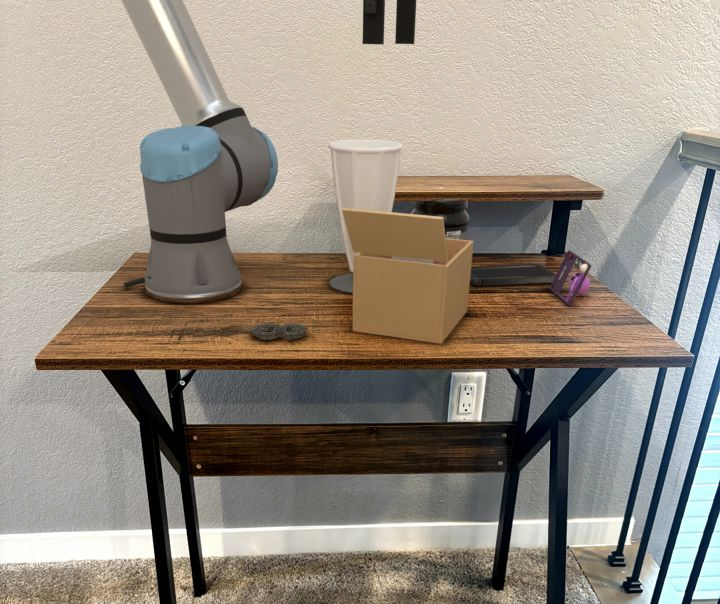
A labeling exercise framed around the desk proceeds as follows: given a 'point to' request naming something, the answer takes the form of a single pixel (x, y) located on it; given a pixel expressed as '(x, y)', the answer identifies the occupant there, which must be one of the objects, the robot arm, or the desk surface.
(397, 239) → the flap
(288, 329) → the corroded twin loop
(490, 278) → the phone
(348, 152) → the cup
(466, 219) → the supplement container
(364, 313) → the carton
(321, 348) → the desk surface
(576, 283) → the purple monster toy box
